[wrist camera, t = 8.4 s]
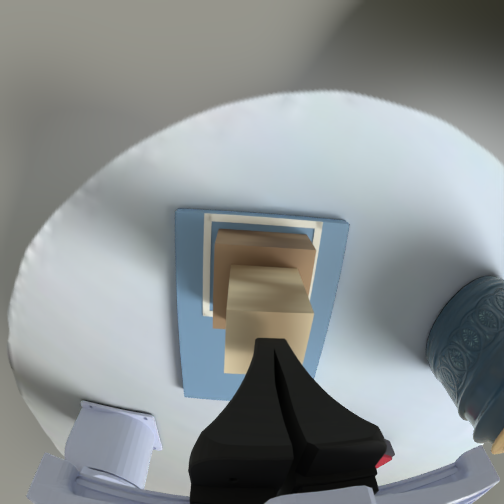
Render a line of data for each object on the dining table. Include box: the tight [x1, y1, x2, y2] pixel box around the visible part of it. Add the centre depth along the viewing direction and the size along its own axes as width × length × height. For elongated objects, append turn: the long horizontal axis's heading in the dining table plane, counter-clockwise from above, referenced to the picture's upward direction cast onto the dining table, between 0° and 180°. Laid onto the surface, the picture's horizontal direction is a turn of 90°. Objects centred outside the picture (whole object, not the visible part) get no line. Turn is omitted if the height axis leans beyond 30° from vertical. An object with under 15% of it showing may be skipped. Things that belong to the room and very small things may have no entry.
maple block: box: [224, 265, 314, 374], centre depth 16 cm, size 4×4×5 cm
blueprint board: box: [175, 208, 350, 401], centre depth 24 cm, size 12×18×1 cm, turn 176°
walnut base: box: [213, 229, 316, 329], centre depth 20 cm, size 6×6×3 cm
